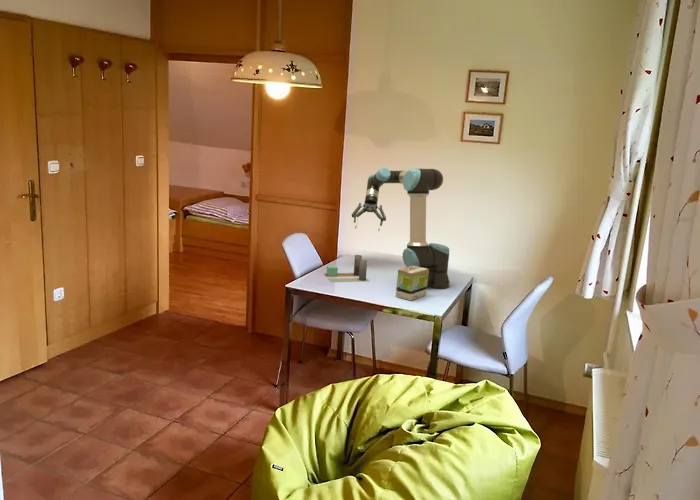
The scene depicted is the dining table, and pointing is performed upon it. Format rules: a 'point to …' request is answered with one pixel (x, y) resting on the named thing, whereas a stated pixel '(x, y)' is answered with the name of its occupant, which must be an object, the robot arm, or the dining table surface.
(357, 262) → the tan and grey stand
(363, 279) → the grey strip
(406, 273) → the tea box
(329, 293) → the dining table surface
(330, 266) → the teal block
